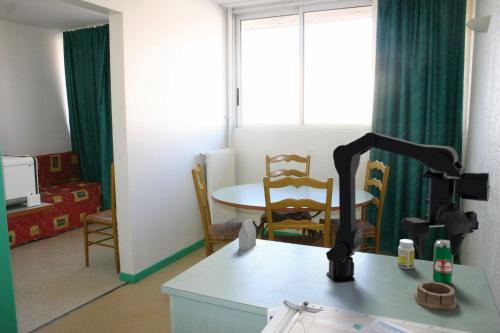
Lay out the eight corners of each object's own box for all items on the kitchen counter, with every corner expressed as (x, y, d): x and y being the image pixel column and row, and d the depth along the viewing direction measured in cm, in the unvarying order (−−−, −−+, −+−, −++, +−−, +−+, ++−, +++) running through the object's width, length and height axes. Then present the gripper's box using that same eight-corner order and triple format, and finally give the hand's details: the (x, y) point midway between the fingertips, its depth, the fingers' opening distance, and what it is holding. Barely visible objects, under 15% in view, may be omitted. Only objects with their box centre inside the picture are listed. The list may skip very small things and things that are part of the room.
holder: (431, 312, 99) (432, 299, 98) (406, 294, 108) (407, 282, 108) (466, 307, 101) (467, 294, 101) (438, 290, 111) (439, 278, 110)
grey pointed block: (255, 245, 150) (255, 218, 149) (247, 250, 144) (247, 223, 143) (247, 243, 152) (246, 217, 151) (238, 249, 146) (238, 222, 145)
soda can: (432, 283, 115) (435, 243, 114) (432, 277, 120) (434, 238, 118) (452, 286, 113) (455, 245, 112) (450, 279, 118) (453, 240, 117)
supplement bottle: (411, 264, 131) (412, 238, 130) (415, 269, 126) (416, 243, 125) (395, 263, 131) (397, 238, 130) (399, 269, 126) (401, 243, 125)
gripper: (430, 206, 91) (426, 272, 93) (498, 201, 96) (494, 264, 98) (401, 196, 102) (398, 255, 104) (463, 192, 106) (460, 249, 108)
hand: (437, 256), depth 103 cm, fingers open, 9 cm apart
